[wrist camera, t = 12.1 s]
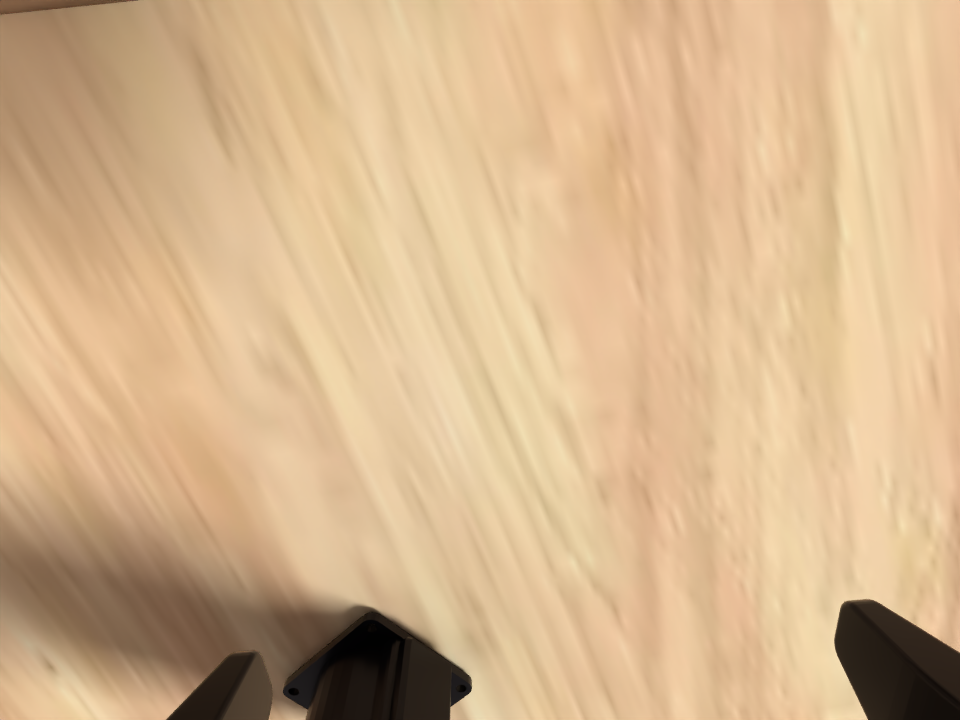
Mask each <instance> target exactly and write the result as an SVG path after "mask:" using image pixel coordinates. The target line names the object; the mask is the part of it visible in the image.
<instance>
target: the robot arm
mask: <svg viewBox="0 0 960 720" xmlns="http://www.w3.org/2000/svg"><path fill="white" fill-rule="evenodd" d="M370 624H374V625H370ZM834 644H835V650H836V653H837V656H838V658H839V660H840V662H841V664H842V666H843V669H844V671H845V673H846V675H847V677H848V679H849V681H850V683H851V685H852V687H853V689H854V691H855V694H856V696H857V698H858V700H859V702H860V704H861V706H862V708H863V710H864V712H865V714H866V716H867V718H868V720H960V652H958V651H956V650H955V649H953V648H951V647H950V646H948V645H947V644H945V643H943V642H942V641H940V640H938V639H937V638H935V637H934V636H932V635H930V634H929V633H927V632H925V631H924V630H922V629H921V628H919V627H917V626H916V625H914V624H912V623H911V622H909V621H908V620H906V619H904V618H903V617H901V616H899V615H898V614H896V613H895V612H893V611H891V610H890V609H888V608H886V607H885V606H883V605H882V604H880V603H878V602H876V601H874V600H870V599H863V600H851V601H846V602H844V603H843V604H842V605H841V608H840V613H839V618H838V623H837V628H836V633H835V639H834ZM471 689H472V680H471V677H470V676H469V675H467V674H466V673H464V672H463V671H461V670H460V669H459V668H457V667H456V666H454V665H453V664H451V663H450V662H448V661H447V660H445V659H444V658H443V657H441V656H440V655H438V654H437V653H435V652H434V651H432V650H431V649H429V648H428V647H427V646H425V645H424V644H422V643H421V642H419V641H418V640H416V639H415V638H413V637H412V636H410V635H409V634H408V633H406V632H405V631H403V630H402V629H400V628H399V627H397V626H396V625H394V624H393V623H392V622H390V621H389V620H387V619H386V618H384V617H383V616H381V615H380V614H378V613H373V612H371V613H367V614H365V615H364V616H362V617H361V618H360V619H359V620H358V621H356V622H355V623H354V624H353V625H352V626H350V627H349V628H348V629H347V630H346V631H344V632H343V633H342V634H341V635H340V636H338V637H337V638H336V639H335V640H334V641H332V642H331V643H330V644H329V645H328V646H326V647H325V648H324V649H323V650H322V651H320V652H319V653H318V654H317V655H316V656H314V657H313V658H312V659H311V660H310V661H308V662H307V663H306V664H305V665H304V666H302V667H301V668H300V669H299V670H298V671H296V672H295V673H294V674H293V675H292V676H290V677H289V678H288V679H287V680H286V682H285V685H284V688H283V693H284V695H285V696H286V697H288V698H289V699H291V700H293V701H294V702H296V703H298V704H299V705H301V706H303V707H304V708H306V709H308V712H307V716H306V720H450V707H451V706H453V705H454V704H455V703H457V702H458V701H459V700H461V699H462V698H464V697H465V696H466V695H468V694H469V693H470V692H471ZM271 704H272V685H271V682H270V679H269V676H268V673H267V670H266V667H265V664H264V661H263V658H262V655H261V653H260V652H258V651H256V650H250V651H238V652H233V653H231V654H230V655H229V656H227V657H226V658H225V659H224V660H223V661H222V662H221V663H220V665H219V666H218V667H217V668H216V669H215V670H214V671H213V672H212V673H211V674H210V675H209V676H208V677H207V678H206V679H205V680H204V681H203V682H202V683H201V684H200V685H199V686H198V687H197V688H196V689H195V690H194V691H193V692H192V693H191V695H190V696H189V697H188V698H187V699H186V700H185V701H184V702H183V703H182V704H181V705H180V706H179V707H178V708H177V709H176V710H175V711H174V712H173V713H172V714H171V715H170V716H169V717H168V718H167V719H166V720H269V715H270V709H271Z"/></svg>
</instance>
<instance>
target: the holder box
mask: <svg viewBox="0 0 960 720" xmlns="http://www.w3.org/2000/svg"><path fill="white" fill-rule="evenodd" d="M126 1H136V0H0V14H9V13H18V12H28V11H38V10H48V9H57V8H67V7H77V6H87V5H97V4H106V3H116V2H126Z"/></svg>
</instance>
